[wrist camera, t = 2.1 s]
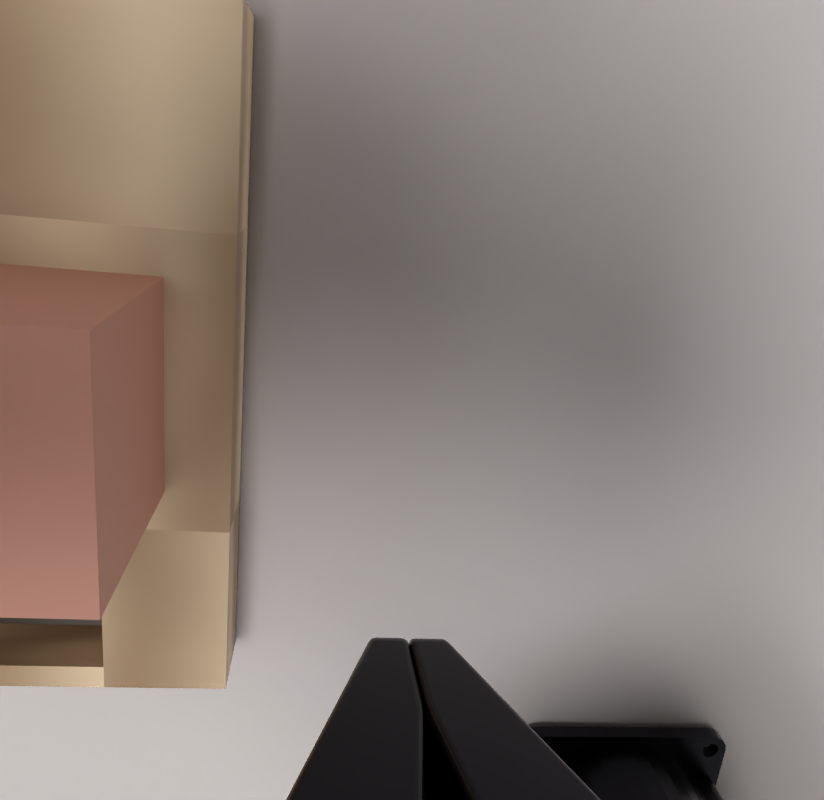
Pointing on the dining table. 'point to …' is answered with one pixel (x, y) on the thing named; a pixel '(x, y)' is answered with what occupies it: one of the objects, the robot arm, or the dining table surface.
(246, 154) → the trap box
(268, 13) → the dining table surface
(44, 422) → the block
